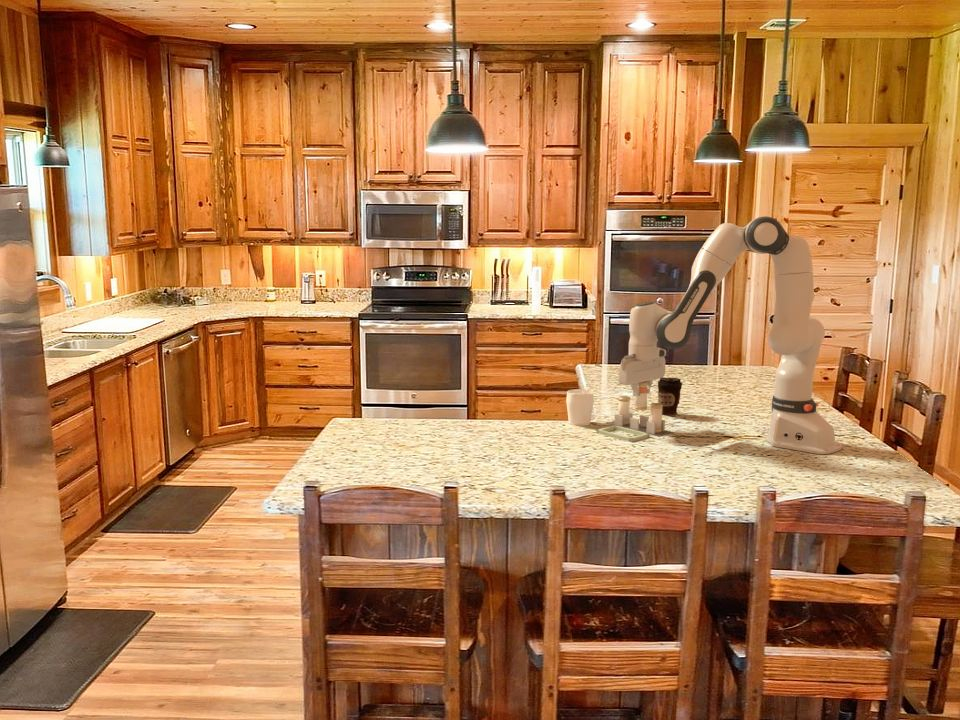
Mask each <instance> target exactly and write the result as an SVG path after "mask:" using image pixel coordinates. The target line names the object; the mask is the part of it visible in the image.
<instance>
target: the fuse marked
mask: <svg viewBox="0 0 960 720" xmlns="http://www.w3.org/2000/svg"><path fill="white" fill-rule="evenodd" d="M647 384H648V382H647V381H645V382H640V383H639V386H637V387H638V390H639V391H640V396H637V397H636V396H635V405H634V410H638V411H646V410H648V406H647V405H648V394H647Z"/></svg>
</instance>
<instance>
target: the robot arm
mask: <svg viewBox="0 0 960 720" xmlns="http://www.w3.org/2000/svg"><path fill="white" fill-rule="evenodd" d="M810 249H811V248H810V247H809V243H808V242H807V240H806V239H805V238H803V237H800V236H795V235H794V236H791V235H789V234H788V232H787V231H786V229H785V228H784V226H783V225H782V223H780V222H779V221H778V220H777V219H776V218H774V217H771V216H766V215H764V216H759V217H757V218H754V219H753V220H751V221H749V223H747V224H745V225H743V226H738V225H736V224H735V223H730V222H723V223H721V224H719V225H718V226H717V227H716V228H715V230H714V231H712V232H711V234H710V235H709V236H708V238H707V239H706V240H705V242H704V243H703V245H702V247H700V249H699V251H698V253H697V254H696V257H695V258H694V260H693V263H692V266H691V270H690V271H691V276H690V283H689V286H688V288H687V290H686V292H685V293H684V295H683V296H682V299H681V300H680V302H679V303H678V304H677V307H676V308H675V309H674V311H671V310H667V309H665V308H663V307H661V306H660V305H658V304H657V303H656V302H654V301H645V302H639V303H636V304H634V306H632V308H631V309H630V314H629V324H628V325H629V326H628V331H629V341H628V355H624V357H623V358H622V359H621V362H620V365H619V369H618V379H617V381H618V383H619V384H620V385H622V386H623V385H624V386H630V387H631V389H632V395H633V397H635V398H636V397H637V396H640V391H639V390H638V387H637V386H639V383H640V382H645V381H647V382H648V384H647V395H649V394H650V393H651V388H652V385H653V382H654V380H658V379H660V378H664V376H665V374H666V358H665V357H666V356H667V350H666V349H669V350H678V349H680V348H682V347H684V346H685V345H686V344H687V343H688V342H689V340H690V339H691V331H692V327H693V322H694V320H695V319H696V317H697V315H698V314H699V313H700V311H701V309H702V307H703V305H704V304H705V302H706V301H707V299H708V297H709V296H710V294H711V293H712V292H713V291H714V290H715V289H716V287H717V286H719V284H720V283H721V282H722V281H723V279H725V277H726V276H727V274H728V273H729V272H730V271H731V269H732V267H733V266H734V264H735V262H736V261H737V259H738V258H739V257H740V256H741V254H743V253H744V252H745V251H747V252H750V253H751V252H752V253H755V254H768V255H769V256H770V257H771V258H772V262H773V267H774V271H773V272H774V273H773V274H774V288H775V289H774V291H775V304H774V312H773V318H772V326H771V329H770V331H769V333H768V345H769V347H770V349H771V350H772V351H773V352H774V353H776V354H777V355H780V356H781V358H780V361H779V364H778V366H777V368H776V370H775V374H774V375H775V379H774V390H773V391H774V392H773V395H772V400H771V412H772V413H771V420H770V422H769V428H768V431H767V433H766V437H765V441H767V442H769V443H770V445H771V446H772V447H776V448H782V449H787V450H793V451H794V450H795V451H799V452H805V453H812V454H816V455H828V454H833V453H836V452H839V451H840V450H843V444H842V443H841V442H839V441H836V436H835V435H836V433H835V430H834V427H833V425H831V424H830V423H829V422H828V421H827V420H826V419H825V418H824V417H823V416H821V415H820V413H818V412H817V407H819V406H820V402H815V401H814V399H813V398H812V397H813V387H814V386H813V385H814V377H815V376H814V375H815V369H816V366H817V361H818V358H819V354H820V350H821V344H823V343H822V342H823V340H824V339H825V336H826V332H825V331H826V330H825V327H824V325H823V324H822V322H821V321H820V320H818V319H816V318H814V317H811V310H812V305H813V301H814V298H815V288H814V286H815V285H814V284H815V283H814V270H813V268H814V267H813V261H812V256H811V255H812V254H811V250H810ZM658 342H659V344H660V345H661V346H663V347H664V348H665V349H664V348H661V347H658V345H657V343H658Z"/></svg>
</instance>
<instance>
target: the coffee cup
mask: <svg viewBox="0 0 960 720" xmlns="http://www.w3.org/2000/svg"><path fill="white" fill-rule="evenodd" d="M681 381H682V380H681V379H680V378H678V377H663V378H659V380H658V383H657V388H658V391H657V398H658V399H657V400H658V401H657V403H660V404H663V408H662V416H666V417H676V416H678V406H679V404H680V399H681V390H682V386H683V383H682V382H681Z"/></svg>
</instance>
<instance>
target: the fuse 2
mask: <svg viewBox="0 0 960 720" xmlns="http://www.w3.org/2000/svg"><path fill="white" fill-rule="evenodd" d="M662 408H663V404H660V403H658V402H653V403H652V402H651V403H650V416H649V417H650V419H649V422H653V423H656V426H655V433H661V430H662V429H661V427H662V420H663V415H662Z"/></svg>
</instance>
